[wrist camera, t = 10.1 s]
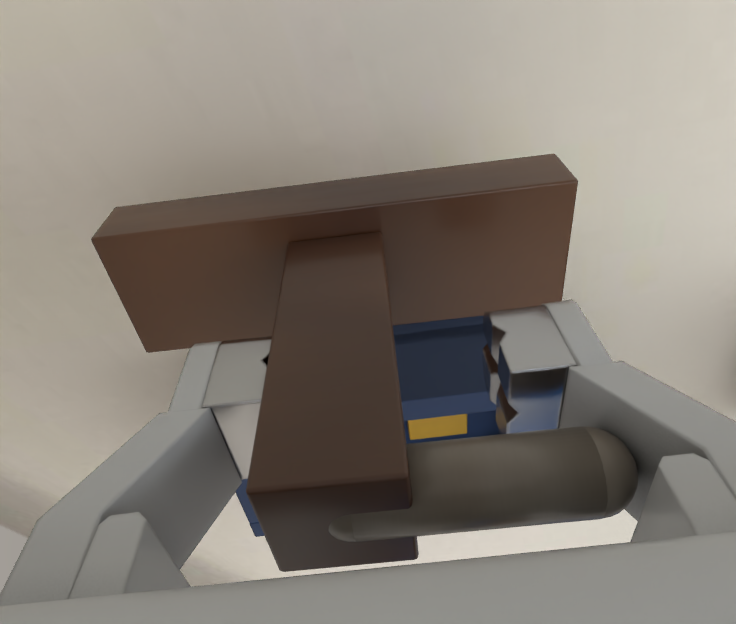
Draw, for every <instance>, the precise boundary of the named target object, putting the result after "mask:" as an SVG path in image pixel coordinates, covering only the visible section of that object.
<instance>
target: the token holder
mask: <svg viewBox="0 0 736 624" xmlns="http://www.w3.org/2000/svg"><path fill="white" fill-rule="evenodd" d="M483 318H484V316H475V317H466V318H457V319H448V320H439V321H430V322H421V323H411V324H402V325H393V332H394V341H395V349H396V358H397V367H398V375H399V384H400V392H401V401H402V410H403V418H404V427H405V435H406V444H410V443H420V442H430V441H440V440H450V439H460V438H469V437H479V436H489V435H499V434H500V431H499V428H498V425H497V422H496V404H495V403H493V402H492V401H490V399H489V396H488V393H487V389H486V385H485V380H484V373H483V363H482V349H483V348H484V347H485V345H486V344H487V341H486V338H485V335H484V332H483ZM241 481H242V483H241V485H240V486H239V487H238V489H237V490H236V494H237V496H238V499H239V501H240V503H241V505H242V507H243V510H244V512H245V514H246V516H247V518H248V521H249V522H250V526H251V528H252V530H253V532H254V535H255V536H256V537H257V536H265V535H264V533H263V531H262V528H261V526H260V524H259V521H258V519H257V517H256V514H255V512H254V510H253V508H252V505H251V503H250V501H249V498H248V496H247V494H246V486H247V481H248V479H243V480H241Z"/></svg>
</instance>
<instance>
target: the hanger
mask: <svg viewBox="0 0 736 624" xmlns="http://www.w3.org/2000/svg"><path fill="white" fill-rule="evenodd" d="M577 184H578V181H577V179H576V178H575V177H574V175H573V174H572V173H571V172H570V171H569V170H568V168H567V167H566V166H565V165H564V164H563V163H562V162H561V160H560V159H559V158H558V157H557V156H556V155H555V154H547V155H539V156H531V157H522V158H514V159H506V160H498V161H490V162H481V163H473V164H465V165H457V166H449V167H441V168H432V169H424V170H416V171H408V172H400V173H392V174H383V175H375V176H367V177H359V178H351V179H342V180H334V181H326V182H318V183H310V184H302V185H293V186H285V187H277V188H269V189H261V190H252V191H244V192H236V193H228V194H220V195H212V196H203V197H195V198H187V199H179V200H171V201H163V202H154V203H146V204H138V205H130V206H122V207H116V208H114V210H113V211H112V212H111V213H110V215H109V216H108V217H107V219H106V220H105V221H104V223H103V224H102V225H101V226H100V228H99V229H98V230H97V232H96V233H95V234H94V236H93V237H92V238H91V240H92V243H93V245H94V247H95V249H96V251H97V253H98V255H99V257H100V259H101V261H102V263H103V265H104V267H105V269H106V271H107V273H108V275H109V277H110V279H111V281H112V283H113V285H114V287H115V289H116V291H117V293H118V295H119V297H120V299H121V301H122V303H123V305H124V307H125V309H126V311H127V313H128V315H129V317H130V319H131V321H132V323H133V326H134V328H135V330H136V332H137V334H138V336H139V338H140V340H141V342H142V344H143V346H144V348H145V350H146V352H148V353H149V352H158V351H167V350H176V349H185V348H191V347H192V346H193V345H194V344H200V343H209V342H219V341H220V342H222V341H226V340H237V339H247V338H258V337H268V336H272V339H271V345H270V351H269V357H268V363H267V369H266V375H265V381H264V386H263V392H262V398H261V404H260V410H259V416H258V422H257V428H256V433H255V439H254V445H253V451H252V457H251V463H250V469H249V475H248V481H247V486H246V494H247V496H248V498H249V501H250V503H251V505H252V508H253V510H254V512H255V514H256V517H257V519H258V521H259V524H260V526H261V528H262V531H263V533H264V535H265V537H266V540H267V542H268V544H269V547H270V549H271V551H272V554H273V556H274V558H275V560H276V563H277V565H278V567H279V570H280V571H283V572H286V571H297V570H308V569H319V568H330V567H340V566H351V565H362V564H373V563H384V562H395V561H405V560H415V559H417V558H418V554H419V553H418V544H417V536H425V535H436V534H447V533H457V532H468V531H479V530H489V529H500V528H510V527H521V526H532V525H542V524H553V523H563V522H574V521H585V520H595V519H602V518H607V517H611V516H613V515H616V514H618V513H619V512H621V511H622V510H623V509H624V508H626V507H627V506H628V505H629V503H630V502H631V501H632V499H633V497H634V495H635V493H636V490H637V486H638V469H637V465H636V462H635V459H634V457H633V456H632V454H631V452H630V451H629V449H628V448H627V446H626V445H625V444H624V443H623V442H622V441H621V440H620V439H619V438H617V437H616V436H614V435H613V434H611V433H609V432H607V431H605V430H602V429H600V428H596V427H590V426H578V427H568V428H558V429H548V430H538V431H529V432H519V433H509V434H499V435H489V436H479V437H469V438H460V439H450V440H440V441H430V442H420V443H410V444H406V435H405V427H404V418H403V410H402V401H401V392H400V384H399V375H398V367H397V358H396V349H395V341H394V332H393V325H402V324H411V323H421V322H430V321H439V320H448V319H457V318H466V317H475V316H484V313H485V312H486V311H495V310H503V309H511V308H519V307H527V306H536V305H542V304H545V303H552V302H559V301H562V294H563V287H564V279H565V272H566V265H567V257H568V250H569V243H570V235H571V228H572V221H573V214H574V206H575V199H576V192H577Z"/></svg>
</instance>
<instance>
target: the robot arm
mask: <svg viewBox="0 0 736 624" xmlns="http://www.w3.org/2000/svg"><path fill="white" fill-rule="evenodd" d="M483 332H484V335H485V338H486V341H487V344H486V345H485V347H484V348H483V349H482V363H483V373H484V380H485V385H486V389H487V393H488V396H489V399H490V401H492V402H493V403H495V404H496V422H497V425H498V428H499V431H500V434H509V433H519V432H529V431H538V430H548V429H558V428H568V427H578V426H590V427H596V428H600V429H602V430H605V431H607V432H609V433H611V434H613V435H614V436H616V437H617V438H619V439H620V440H621V441H622V442H623V443H624V444H625V445H626V446H627V448H628V449H629V451H630V452H631V454H632V456H633V457H634V459H635V462H636V465H637V469H638V486H637V490H636V493H635V495H634V497H633V499H632V501H631V502H630V503H629V505H628V506H627V507H626V508H624V509H625V510H626V511H627V512H628V513H629V514H630V515H631V516H633V517H634V518H635V519H636V520H637V521H638V523H637V525H636V528H635V531H634V534H633V536H632V539H631V542H628V543H618V544H608V545H598V546H589V547H579V548H569V549H559V550H549V551H540V552H530V553H520V554H510V555H500V556H491V557H481V558H471V559H461V560H452V561H442V562H432V563H422V564H412V565H402V566H392V567H382V568H372V569H362V570H353V571H343V572H333V573H323V574H313V575H303V576H293V577H283V578H273V579H263V580H253V581H244V582H234V583H224V584H214V585H204V586H194V587H191V586H190V585H189V583H188V582H187V580H186V579H185V577H184V576H183V574H182V573H181V571H180V568H181V567H182V566H183V564H184V563H185V561H186V560H187V559H188V557H189V556H190V554H191V553H192V552H193V550H194V549H195V548H196V546H197V545H198V543H199V542H200V541H201V539H202V538H203V536H204V535H205V534H206V532H207V531H208V529H209V528H210V527H211V525H212V524H213V522H214V521H215V520H216V518H217V517H218V515H219V514H220V513H221V511H222V510H223V508H224V507H225V506H226V504H227V503H228V501H229V500H230V499H231V497H232V496H233V494H234V493H235V492H236V490H237V489H238V487H239V486H240V485H241V483H242V481H241V480H243V479H248V475H249V469H250V463H251V457H252V451H253V445H254V439H255V433H256V428H257V422H258V416H259V410H260V404H261V398H262V392H263V386H264V381H265V375H266V369H267V363H268V357H269V351H270V345H271V339H272V336H268V337H258V338H247V339H237V340H226V341H222V342H220V341H219V342H209V343H200V344H194V345H193V346H192V347H191V348H190V350H189V352H188V355H187V358H186V361H185V364H184V367H183V369H182V372H181V375H180V378H179V381H178V384H177V387H176V390H175V393H174V395H173V398H172V401H171V404H170V407H169V410H168V412H166V413H159V414H158V415H157V416H156V417H154V418H153V419H152V420H151V421H150V422H149V423H148V424H146V425H145V426H144V427H143V428H142V429H141V430H140V431H138V432H137V433H136V434H135V435H134V436H133V437H132V438H130V439H129V440H128V441H127V442H126V443H125V444H124V445H122V446H121V447H120V448H119V449H118V450H117V451H116V452H114V453H113V454H112V455H111V456H110V457H109V458H108V459H106V460H105V461H104V462H103V463H102V464H101V465H100V466H99V467H97V468H96V469H95V470H94V471H93V472H92V473H91V474H89V475H88V476H87V477H86V478H85V479H84V480H83V481H81V482H80V483H79V484H78V485H77V486H76V487H75V488H73V489H72V490H71V491H70V492H69V493H68V494H67V495H65V496H64V497H63V498H62V499H61V500H60V501H59V502H57V503H56V504H55V505H54V506H53V507H52V508H51V509H49V510H48V511H47V512H46V513H45V514H44V515H43V516H41V517H40V518H39V519H38V520H37V521H36V523H35V525H34V527H33V529H32V531H31V534H30V536H29V538H28V540H27V542H26V544H25V546H24V548H23V550H22V552H21V554H20V556H19V558H18V560H17V562H16V564H15V566H14V568H13V570H12V572H11V574H10V576H9V578H8V580H7V582H6V584H5V586H4V588H3V590H2V592H1V594H0V624H736V422H735V421H733V420H732V419H730V418H728V417H726V416H724V415H722V414H720V413H718V412H717V411H715V410H713V409H711V408H709V407H707V406H705V405H703V404H702V403H700V402H698V401H696V400H694V399H692V398H690V397H689V396H687V395H685V394H683V393H681V392H679V391H677V390H675V389H674V388H672V387H670V386H668V385H666V384H664V383H662V382H660V381H659V380H657V379H655V378H653V377H651V376H649V375H647V374H646V373H644V372H642V371H640V370H638V369H636V368H634V367H632V366H631V365H629V364H627V363H625V362H623V361H619V362H613V361H612V359H611V357H610V356H609V354H608V353H607V351H606V349H605V348H604V346H603V345H602V343H601V341H600V340H599V338H598V337H597V335H596V333H595V332H594V330H593V329H592V327H591V325H590V324H589V322H588V320H587V319H586V317H585V316H584V314H583V312H582V311H581V309H580V308H579V306H578V304H577V303H576V302H574V301H573V300H566V301H559V302H552V303H545V304H542V305H536V306H527V307H519V308H511V309H503V310H495V311H486V312H485V313H484V318H483Z"/></svg>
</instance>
